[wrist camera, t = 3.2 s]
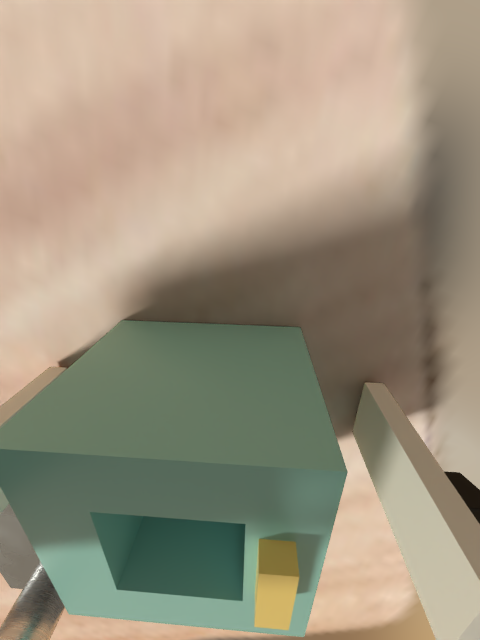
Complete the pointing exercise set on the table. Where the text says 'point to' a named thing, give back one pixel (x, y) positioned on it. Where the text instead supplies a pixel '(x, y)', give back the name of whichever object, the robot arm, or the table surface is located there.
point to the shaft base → (15, 551)
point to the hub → (181, 477)
